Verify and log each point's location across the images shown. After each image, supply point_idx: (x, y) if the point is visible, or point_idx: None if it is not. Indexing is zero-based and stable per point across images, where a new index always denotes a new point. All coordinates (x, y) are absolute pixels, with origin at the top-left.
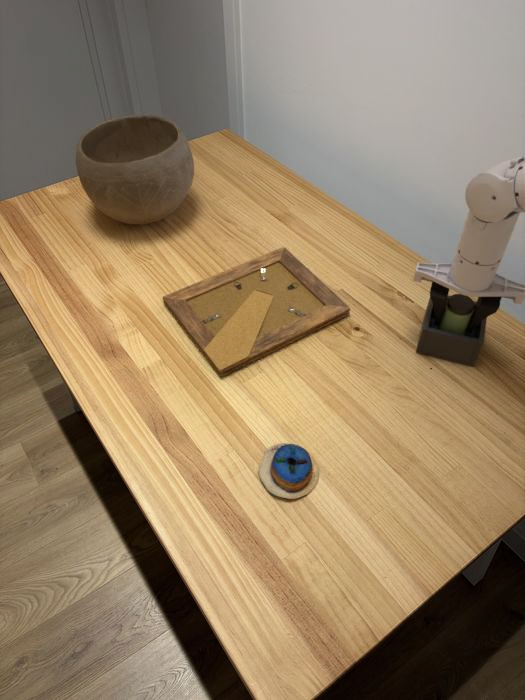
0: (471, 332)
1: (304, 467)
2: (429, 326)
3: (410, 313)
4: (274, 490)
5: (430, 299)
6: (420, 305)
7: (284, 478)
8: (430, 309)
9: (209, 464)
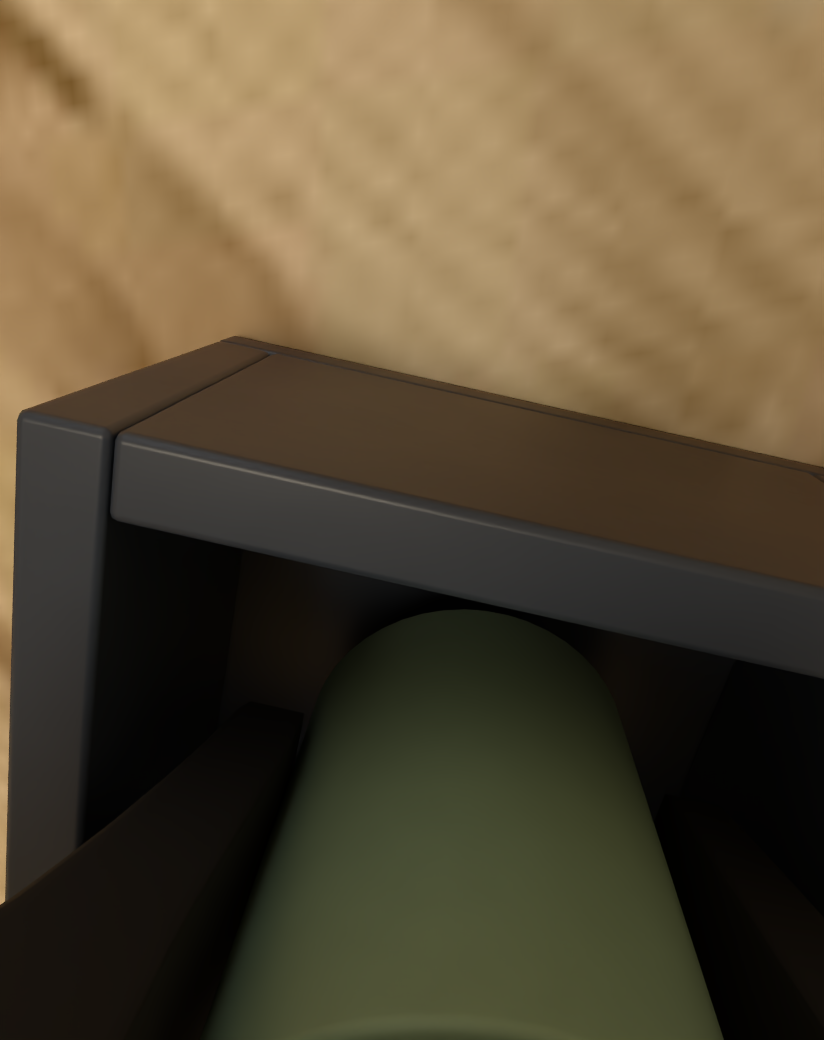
0: None
1: None
2: (271, 560)
3: (76, 320)
4: None
5: (23, 637)
6: (180, 149)
7: None
8: (48, 866)
9: None
